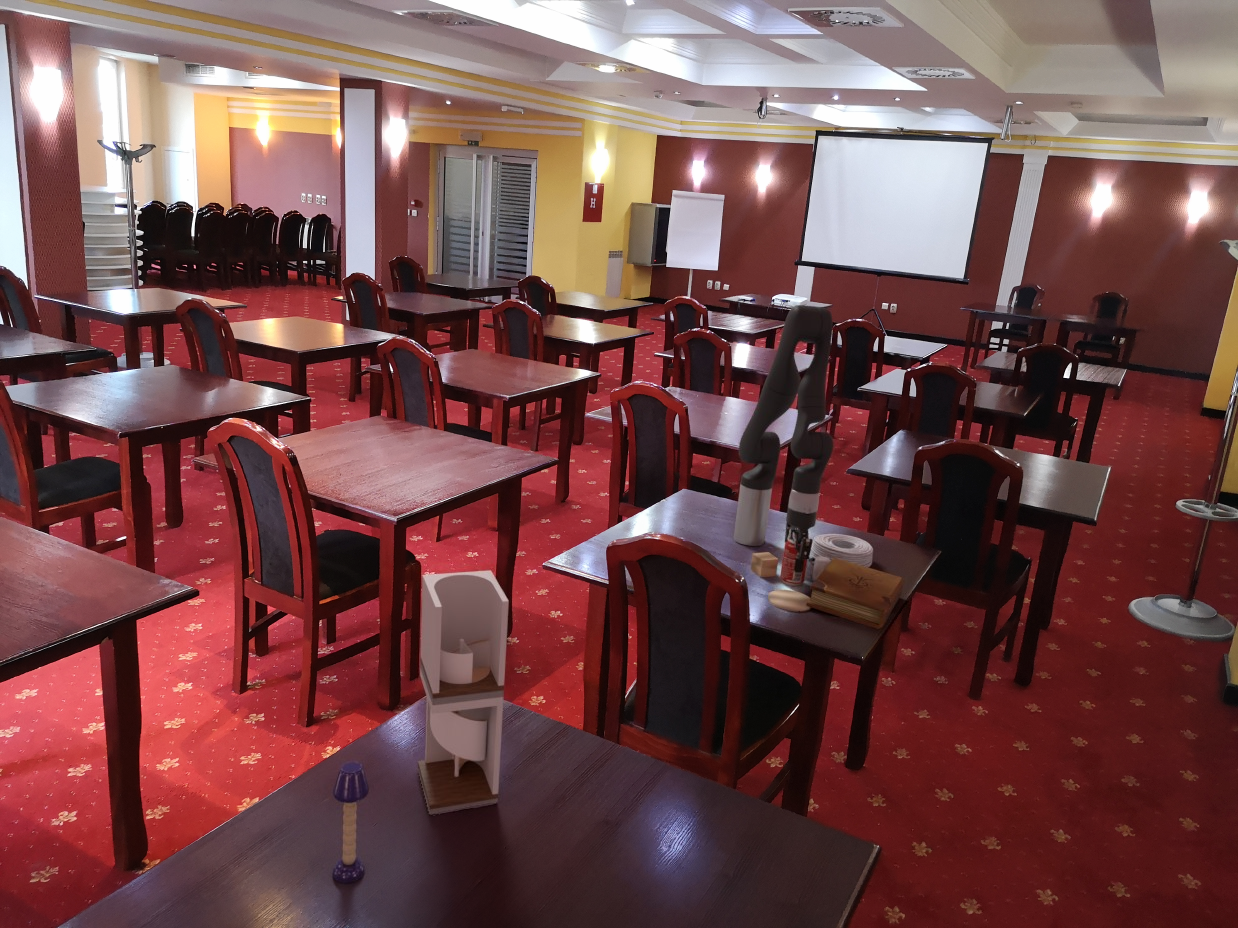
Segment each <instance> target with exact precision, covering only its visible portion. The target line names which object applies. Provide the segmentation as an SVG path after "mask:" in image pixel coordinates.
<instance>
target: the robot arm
mask: <svg viewBox="0 0 1238 928" xmlns="http://www.w3.org/2000/svg"><path fill="white" fill-rule="evenodd" d="M833 325H834V324H833V316H832V312H831V310H830V309H828V308H827V307H824V306H823V307H822V306H815V305H804V304H799V305H798V304H797V305H793V306H792V307H791V308H790V310H789V311H788V314H787V316H786V318H785V321H784V325H783V328H782V332H781V335H780V338H779V339H780V340H779V343H778V346H777V349H776V353H775V356H774V358H773V361H772V363H771V364H772V365H771V366H770V369H769V371H768V373H767V377H766V379H765V380H764V381H765V382H764V384H763V387H762V389H761V393H760V396H759V399H758V401H757V404H756V407H755V409H754V411H753V413H752V415H751V418H750V419H749V421H748V424H747V425H746V427H745V429H744V431H743V433H742V435H741V437H740V441H739V445H738V456H739V458H740V460H741V461H742V462H743V463H745V464H746V463H747V464H754V465H755V464H756V466H755V467H753V469H752V468H751V469H750V470H747V471H745V472H743V474H742V475H741V476H740V477H741V478H740V485H739V493H738V500H737V501H738V502H737V510H736V518H735V523H734V533H733V541H735V542H736V543H738V544H741V545H743V546H749V547H750V546H751V547H752V546H753V547H756V546H759V547H760V546H763V545H764V544H765V542H766V535H767V534H766V533H767V528H768V521H769V514H770V513H769V512H770V506H771V499H772V491H773V486H774V485H773V484H774V481H775V479H776V474H777V469H778V464H779V460H780V453H781V440H780V436H779V435H778V434H777V433H776V432H775V431H767V430H768V428H769V427H770V426H771V425H772V424H774V422H776V420H778V419H780V417H782V416H784V415H785V414H786V413H787V412H788V410H790V409H791V408H792V406H793V405H794V402H795V400H796V398H797V416H796V422H795V426H794V431H793V434H792V437H791V441H790V450H791V453H792V455H793V456H794V458H796V459H800V460H806V459H807V460H811V461H810V462H809V463H808V464H805V465H801V466H798V467H796V468H795V469H794V470H793V476H792V477H793V479H792V484H791V490H790V493H789V498H788V504H787V513H786V518H785V521H786V523H785V532H784V533H785V534H784V544H785V543H786V542H787V541H788V539H789V538H790V539H791V538H792V539H793V541H794V549H795V550H796V559H795V565H794V571H795V572H802V571H803V566H804V559H806V560H807V561H809V557H810V556H811V547H812V543H813V540H814V539H813V538H810V536H809V535H810V534H809V530H810V529H811V528H813V527H815V525H816V524H817V523H816V522H817V514H818V509H819V503H820V501H819V499H820V490H821V483H822V478H823V475H824V472H825V470H826V467H827V466H828V464H829V461H830V459H831V457H832V454H833V452H834V447H835V445H834V443H835V442H834V439H833V437H832V435H831V434H830V433H829V432H825V431H810V430H809V427H810V425H813V424H819V423H821V422H824V421H825V419H826V417H827V416H826V413H827V412H826V411H827V410H826V408H827V407H826V405H827V403H826V402H827V401H826V383H827V375H828V374H827V373H828V368H829V366H828V365H829V362H830V361H829V360H830V352H831V344H832V337H833ZM800 342H802V343H812V344H813V343H814V351H813V358H812V360H811V362H810V364H809V366H808V368H807V370H806V371H805V373H804V375H803V376H802V378H801V376H800V372H799V369H798V366H797V364H796V357H795V354H796V349H797V346H798V344H799V343H800ZM797 544H801V547H798V546H797ZM799 550H800V552H799ZM806 552H807V553H806Z"/></svg>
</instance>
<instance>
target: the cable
mask: <svg viewBox="0 0 1238 928" xmlns="http://www.w3.org/2000/svg"><path fill="white" fill-rule="evenodd" d="M812 540H813V542H812V547H811V551H810V556H809V560H808V561H809V562H810V564H811V565H814V564H815V558H816V557H817V556H823V557H827V558H829V559H830V560H831V561H832V560H833V559H834V558H837V559H841V560H844V561H848V562H851V563H854V564H858V565H861V566H864V567H868V568H870V567H871V566H872V564H873V553H874V548H873V547H872V545H871V544H870V543H869V542H868V541H866V540H864V539H862V538H859V537H856V536H852V535H847V534H841V533H839V534H838V533H825V534H824V533H823V534H819V535H815V536H814V538H813V539H812ZM813 559H814V561H812V560H813ZM830 563H831V562H830Z"/></svg>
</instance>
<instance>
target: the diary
mask: <svg viewBox="0 0 1238 928" xmlns="http://www.w3.org/2000/svg"><path fill="white" fill-rule="evenodd" d="M904 584H905V579H904V578H903V577H901V576H899V575H895V574H891V573H887V572H885V571H881V570H877V569H874V568H871V567H864V566H861V565H858V564H854V563H851V562H848V561H844V560H841V559H837V558H834V559H833V560H832V561H831V563H830V564H829V565H828V566H827V567H826V568H825V569H824V571H823V572H822V573H821V574H820V575H819V576H818V577H817V579H816V580H815V581H813V582H812V583H811V584H810V586H809V589H810V590H812V591H811V596H810V597H809V598H810V599H809V601H808V602H807V605H806V606H808V607H811V609H815V610H819V611H821V612H825V613H827V614H831V615H833V616H836V617H839V618H843V619H846V620H848V621H852V622H856V623H858V624H862V625H865V626H868V627H871V628H874V629H877V630H880V629H882V627H884V624H885V623H886V622H887V619H888V618H889V616H890V615H891V613H892V612H893V609H894V607H896V604H897V603H898V601H899V599H900V598H901V596H902V593H903V589H904Z"/></svg>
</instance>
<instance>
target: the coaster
mask: <svg viewBox="0 0 1238 928" xmlns="http://www.w3.org/2000/svg"><path fill="white" fill-rule="evenodd" d="M810 598H811V597H810V596H808V595H807V594H804V593H802V592H799V591H796V590H791V589H777V590H773V591H770V592H768V597H767V600H768V602H769V604H771V605H772V606H774V607H776V608H778V609H780V608H781V609H780V610H784V611H789V612H799V611H800V612H806V611H809V610H811V609H812V607H808V606H806V605H807V602H808V601H809V599H810ZM800 612H799V613H800Z"/></svg>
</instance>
